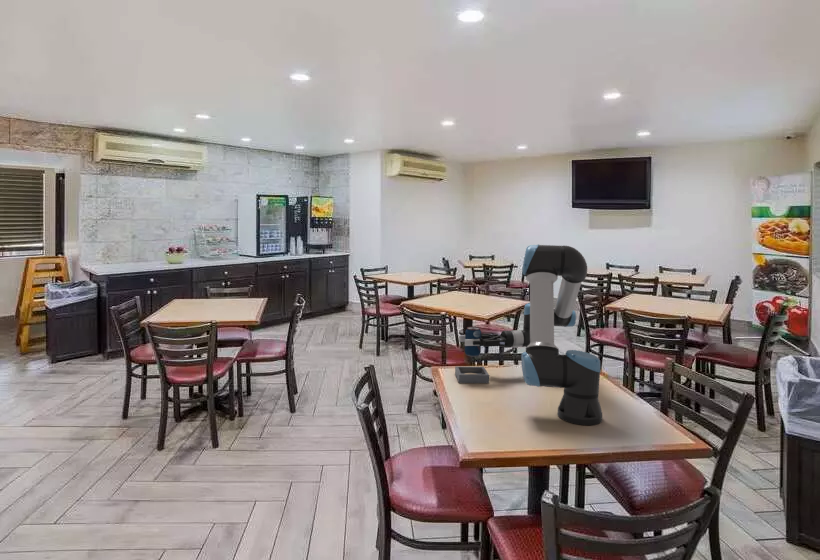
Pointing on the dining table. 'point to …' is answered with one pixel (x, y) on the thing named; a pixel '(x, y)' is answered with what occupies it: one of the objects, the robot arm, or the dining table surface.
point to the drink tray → (471, 374)
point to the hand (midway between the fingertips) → (462, 340)
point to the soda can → (473, 334)
